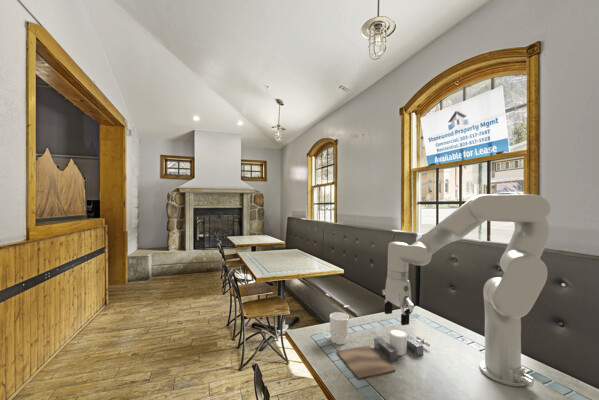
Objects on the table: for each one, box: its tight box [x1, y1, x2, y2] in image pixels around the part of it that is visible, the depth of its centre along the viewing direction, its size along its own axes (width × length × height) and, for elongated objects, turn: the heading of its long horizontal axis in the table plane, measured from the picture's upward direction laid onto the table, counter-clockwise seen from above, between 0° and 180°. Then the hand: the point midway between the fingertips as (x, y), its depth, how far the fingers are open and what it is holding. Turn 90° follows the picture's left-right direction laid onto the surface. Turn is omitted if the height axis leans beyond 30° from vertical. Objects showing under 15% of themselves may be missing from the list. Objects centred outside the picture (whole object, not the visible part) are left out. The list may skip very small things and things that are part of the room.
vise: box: [373, 335, 431, 363], centre depth 102 cm, size 10×20×4 cm, turn 108°
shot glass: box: [388, 328, 408, 356], centre depth 102 cm, size 7×7×7 cm
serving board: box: [336, 344, 396, 380], centre depth 95 cm, size 16×14×1 cm
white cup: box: [329, 311, 350, 345], centre depth 109 cm, size 8×8×10 cm
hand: (396, 318), depth 102 cm, fingers open, 9 cm apart
